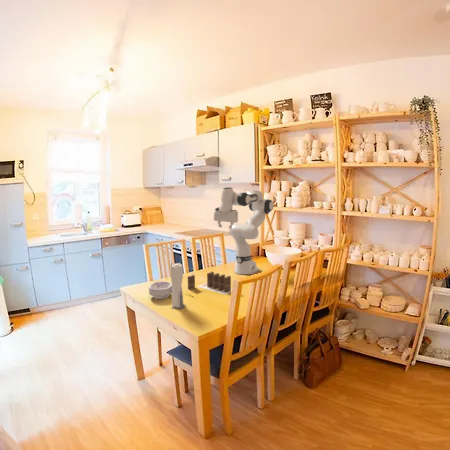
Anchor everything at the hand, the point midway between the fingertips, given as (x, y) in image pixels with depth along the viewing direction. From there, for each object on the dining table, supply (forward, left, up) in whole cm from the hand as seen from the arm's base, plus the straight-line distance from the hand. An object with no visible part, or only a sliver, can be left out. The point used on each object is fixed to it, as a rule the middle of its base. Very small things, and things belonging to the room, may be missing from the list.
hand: (225, 227), depth 234 cm
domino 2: (+21, +3, -39) cm, 44 cm away
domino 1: (+32, -5, -40) cm, 51 cm away
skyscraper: (+57, +8, -40) cm, 70 cm away
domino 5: (+21, +18, -39) cm, 47 cm away
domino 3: (+21, +8, -39) cm, 45 cm away
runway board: (+21, +8, -40) cm, 45 cm away
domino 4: (+21, +13, -39) cm, 46 cm away
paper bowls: (+53, -12, -40) cm, 67 cm away
